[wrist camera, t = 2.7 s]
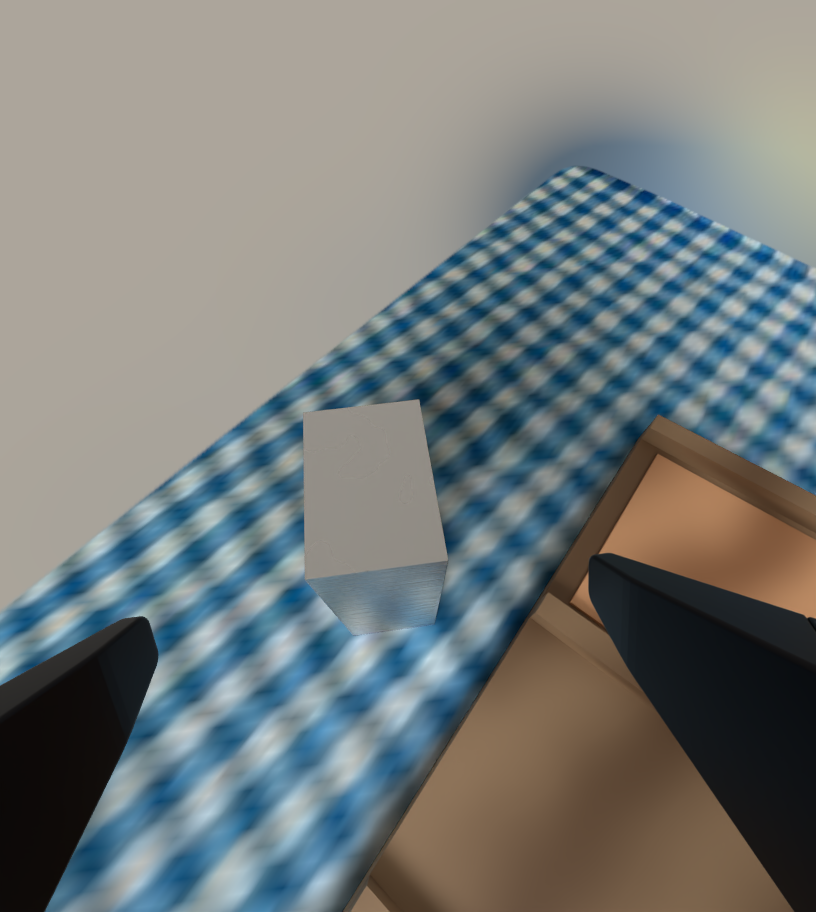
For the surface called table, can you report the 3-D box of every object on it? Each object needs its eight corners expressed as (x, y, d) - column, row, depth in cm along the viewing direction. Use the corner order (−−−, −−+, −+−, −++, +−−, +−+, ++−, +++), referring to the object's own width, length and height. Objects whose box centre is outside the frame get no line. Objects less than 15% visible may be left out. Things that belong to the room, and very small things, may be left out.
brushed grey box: (434, 624, 19) (448, 560, 11) (354, 636, 19) (305, 580, 10) (417, 518, 21) (419, 399, 13) (346, 527, 21) (303, 412, 13)
